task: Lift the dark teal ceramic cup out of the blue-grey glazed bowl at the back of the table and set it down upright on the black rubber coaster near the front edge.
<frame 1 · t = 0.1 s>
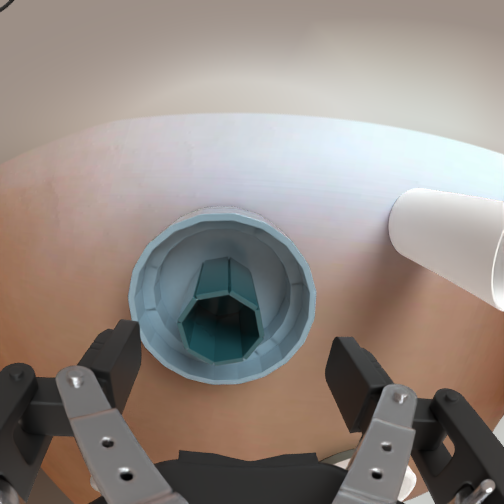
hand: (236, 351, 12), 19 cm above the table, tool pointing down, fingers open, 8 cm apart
cup: (416, 223, 32), on the table
bowl: (342, 474, 42), on the table
glazed bowl: (222, 285, 31), on the table
teal cup: (222, 287, 31), point 1 cm above the table, touching glazed bowl
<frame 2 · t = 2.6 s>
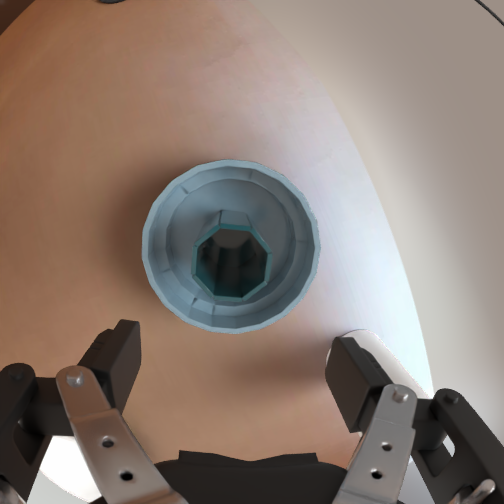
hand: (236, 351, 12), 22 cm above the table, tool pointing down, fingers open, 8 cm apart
cup: (354, 355, 38), on the table
bowl: (99, 443, 40), on the table
glazed bowl: (230, 238, 33), on the table
teal cup: (230, 239, 32), point 1 cm above the table, touching glazed bowl
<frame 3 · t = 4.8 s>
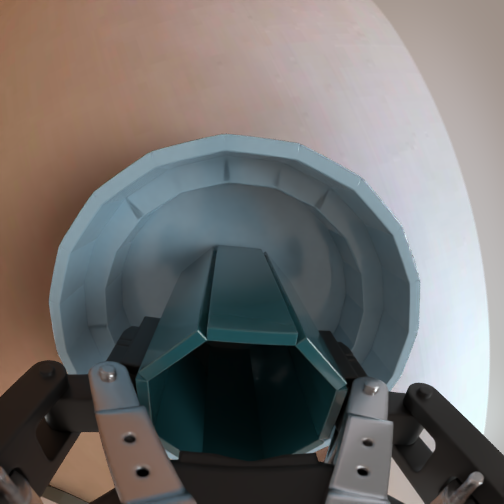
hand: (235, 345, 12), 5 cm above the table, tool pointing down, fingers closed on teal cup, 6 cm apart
cup: (407, 436, 23), on the table
glazed bowl: (233, 297, 17), on the table
teal cup: (233, 301, 17), point 1 cm above the table, touching glazed bowl, gripper
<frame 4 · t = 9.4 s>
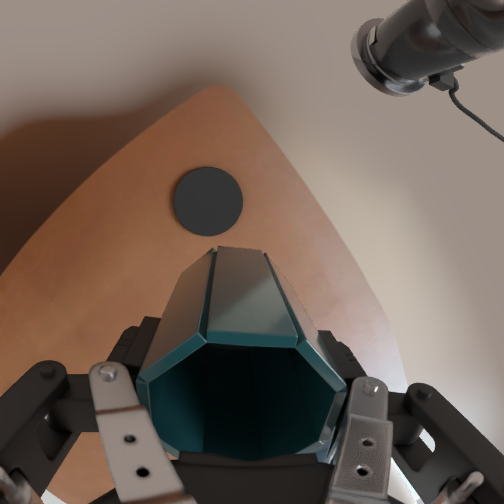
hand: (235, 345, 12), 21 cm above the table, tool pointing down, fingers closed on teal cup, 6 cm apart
cup: (373, 465, 47), on the table
coaster: (208, 201, 32), on the table
teal cup: (233, 302, 17), point 17 cm above the table, touching gripper
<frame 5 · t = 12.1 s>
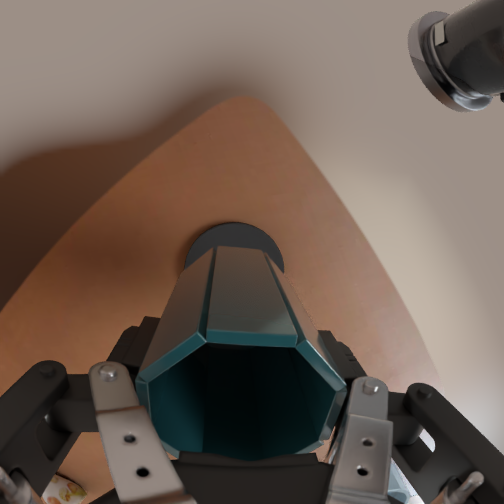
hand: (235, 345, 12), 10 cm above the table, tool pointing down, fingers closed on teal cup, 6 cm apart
white pear shape: (59, 475, 29), on the table
glazed bowl: (343, 489, 32), on the table
coaster: (234, 271, 22), on the table
teal cup: (233, 302, 17), point 6 cm above the table, touching gripper
when the fingers open (5 cm above the table, at t = 14.0 s): teal cup stays where it is, resting on coaster.
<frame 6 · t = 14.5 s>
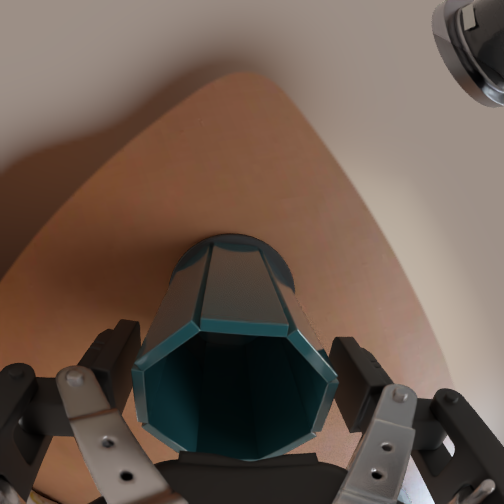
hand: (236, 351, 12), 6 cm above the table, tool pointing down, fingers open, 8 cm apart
white pear shape: (46, 497, 24), on the table
coaster: (231, 295, 18), on the table
teal cup: (229, 297, 17), resting on coaster
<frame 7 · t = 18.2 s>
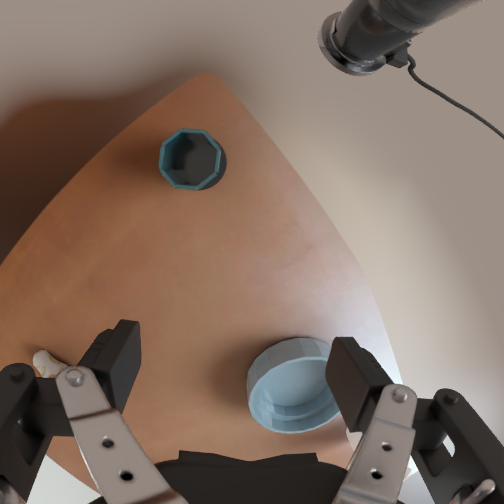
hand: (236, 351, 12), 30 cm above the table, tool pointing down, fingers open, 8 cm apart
cup: (363, 425, 53), on the table
white pear shape: (60, 365, 45), on the table
glazed bowl: (295, 376, 48), on the table
coaster: (198, 162, 39), on the table
teal cup: (197, 162, 38), resting on coaster
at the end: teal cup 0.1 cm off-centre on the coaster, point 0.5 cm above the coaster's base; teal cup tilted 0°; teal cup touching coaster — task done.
